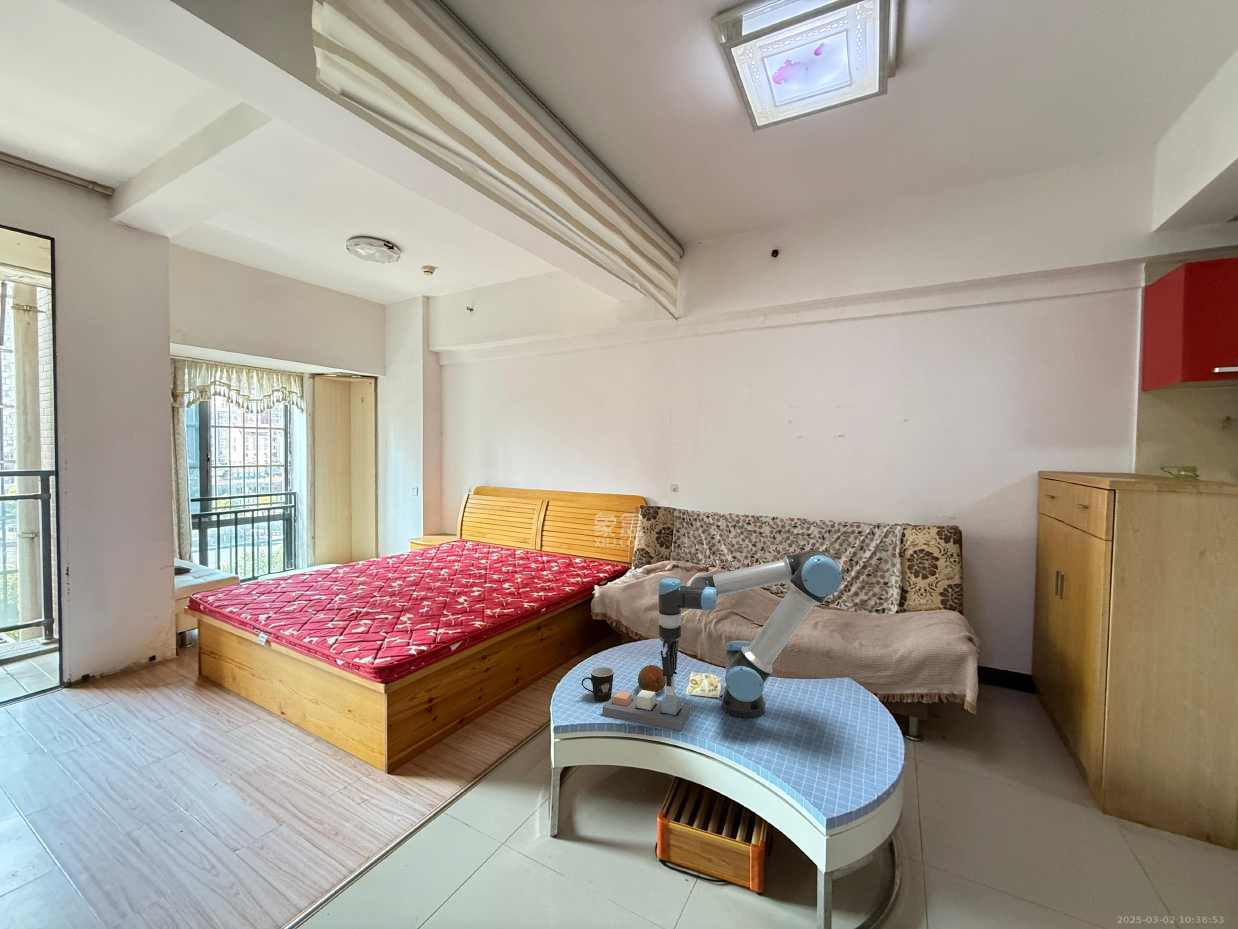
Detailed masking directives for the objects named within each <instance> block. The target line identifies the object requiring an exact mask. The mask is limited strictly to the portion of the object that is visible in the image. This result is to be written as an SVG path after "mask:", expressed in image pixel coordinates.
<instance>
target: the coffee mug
mask: <svg viewBox="0 0 1238 929" xmlns="http://www.w3.org/2000/svg"><path fill="white" fill-rule="evenodd" d="M614 673H615V671H614V669H613V668H611V667H608V666H598V667H595V668H593V669H591V670H590V676H586V677H584V678H583V679H582V680H581V686H582V687H583V689H585V690H586V691H588V692H590V693H592V694H593V700H594V701H595V702H597V703H607V702H608V701H609V700H610V699H611V698H612V695H613V684H614V683H613V681H614ZM586 680H589V681H590V682H591V686H592V689H591V688H587V687H586V686H585V685H584V681H586Z"/></svg>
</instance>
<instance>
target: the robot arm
mask: <svg viewBox="0 0 1238 929" xmlns="http://www.w3.org/2000/svg"><path fill="white" fill-rule="evenodd" d="M842 578H843V577H842V573H841V570H840V567H839V565H838V564H837V563H836V561H835V560H833V559H832V558H831V557H830V556H829V555H827V554H826V553H825V552H823V551H821V550H817V549H809V550H805V551H801V552H800V551H799V552H797V553H794V554H789V555H785V556H784V557H783V558H782V559H781V560H776V561H771V562H767V563H762V564H761V563H760V564H759V565H753V566H749V567H744V568H739V569H735V570H730V571H726V572H721V573H718V574H712V575H708V576H707V575H698V576H696V577H695V578H694V579H693V580H692V581H691V583H690V585H682V583H681V580H680V579H679V578H673V577H666V578H662V579H660V581H658V592H657V594H658V596H657V597H658V613H657V617H658V636H659V637H660V638H661V639H662V640H663V642H662V650H660V652H659V653H660V656H661V666H662V668H661V669H663V676H666V684H665V695H671V696H675V694H676V693H675V692H676V691H675V690H676V689H675V688H676V686H675V682H676V681H675V675H678V672H677V668H678V667H677V666H678V655H679V654H678V650H679V643H680V642H679V640H678V639H680V638H681V636H682V627H681V624H682V609H683V610H684V609H686V610H697V611H699V610H700V611H714V610H716V609H717V600H718V598H717V597H719V596H725V595H731V594H736V593H740V592H744V591H748V590H749V591H750V590H754V589H759V588H763V587H768V586H773V585H778V584H783V583H789V586H790V587H789V590H788V591H787V592H786V593H785V595H784V597H783V598H782V599H781V601H780V602H779V604H778V605H777V607H776V608H775V610H774V611H773V612H772V613H771V615H770V616H769V617H768V618H767V621H766V622H765V623H764V625H763V626H762V627H761V629H760V630H759V632H758V633H757V635H756V636H755V637H754V638H753V640H752V641H748V640H732V641H731V640H730V641H729V642H728V641H727V643H726V644H725V677H724V681H725V682H724V683H725V688H724V690H723V693H722V697H721V708H722V709H723V711H724V712H726V713H728V714H729V715H731V716H735V717H737V718H742V719H743V718H745V719H747V718H748V719H751V718H757V717H761V716H762V715H764V714H765V713H766V701H765V697H764V695H763V692H764V688H765V683H766V682H767V680H768V678H769V677H770V676H771V674H772V673H773V667H772V664H773V663H774V662H775V660H776V659H777V657H778V656H779V655H780V653H781V652H782V650H783V649H784V648H785V646H786V645H787V643H788V642H789V640H790V639H792V636H793V635H794V634H795V633H796V631H797V630H798V628H799V627H800V626H801V624H802V622H803V621H804V620H805V618H806V617H807V616H808V615H809V613H810V612H811V611H812V609H813V607H814V606H819V605H822V604H823V602H825V600H826V599H827V597H829V596H831V595H833V594H835V593H836V592H837V591H838V590H839V588H840V587H841V584H842Z"/></svg>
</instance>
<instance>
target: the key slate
mask: <svg viewBox="0 0 1238 929" xmlns="http://www.w3.org/2000/svg"><path fill="white" fill-rule="evenodd" d="M661 701H662V712H663V713H668V714H673V715H676V714H677V713H678V711H679V710H680V704H681V696H679V695H674V696H671V695H666V694H665V695H664V697H663V698H662V699H661Z"/></svg>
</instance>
